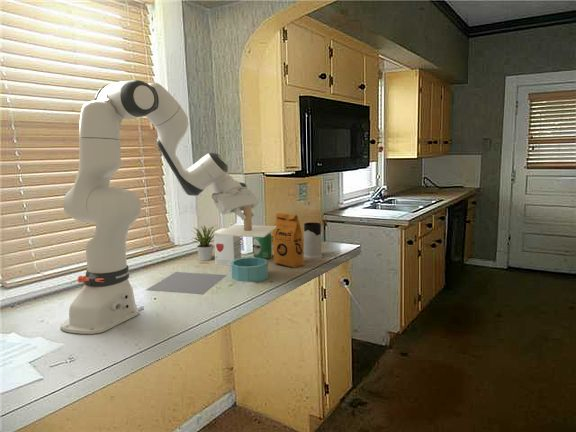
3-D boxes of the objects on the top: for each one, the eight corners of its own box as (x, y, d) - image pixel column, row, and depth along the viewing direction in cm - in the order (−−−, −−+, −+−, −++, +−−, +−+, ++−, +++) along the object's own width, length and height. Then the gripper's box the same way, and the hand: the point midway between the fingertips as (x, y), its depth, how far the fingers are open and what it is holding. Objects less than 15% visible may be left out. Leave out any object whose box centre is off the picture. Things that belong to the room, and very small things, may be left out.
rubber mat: (203, 295, 143) (203, 294, 143) (145, 291, 148) (145, 290, 148) (226, 276, 164) (226, 275, 164) (175, 273, 169) (175, 271, 169)
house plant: (227, 255, 197) (226, 220, 194) (219, 263, 183) (218, 226, 180) (197, 254, 198) (196, 220, 195) (188, 262, 184) (186, 226, 182)
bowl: (261, 283, 155) (261, 268, 154) (226, 281, 158) (225, 266, 157) (271, 272, 168) (271, 258, 167) (238, 270, 171) (238, 256, 170)
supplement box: (214, 266, 179) (213, 231, 176) (222, 260, 187) (221, 227, 185) (234, 267, 177) (233, 232, 174) (241, 261, 185) (240, 228, 183)
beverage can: (250, 258, 191) (249, 232, 189) (264, 254, 196) (263, 229, 194) (261, 261, 185) (260, 234, 183) (275, 258, 190) (274, 232, 188)
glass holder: (299, 256, 192) (299, 224, 190) (314, 250, 204) (314, 219, 201) (316, 259, 187) (316, 226, 185) (330, 252, 199) (331, 221, 196)
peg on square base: (263, 237, 150) (263, 210, 148) (216, 235, 154) (215, 209, 152) (276, 227, 167) (276, 203, 165) (234, 226, 171) (233, 202, 169)
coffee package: (292, 269, 172) (292, 217, 168) (270, 264, 180) (269, 214, 176) (307, 264, 180) (307, 213, 176) (285, 259, 188) (284, 211, 184)
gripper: (213, 187, 152) (235, 216, 149) (249, 183, 169) (269, 208, 166) (205, 199, 156) (226, 227, 152) (240, 193, 172) (260, 219, 169)
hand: (249, 217), depth 159 cm, fingers closed on peg on square base, 3 cm apart
